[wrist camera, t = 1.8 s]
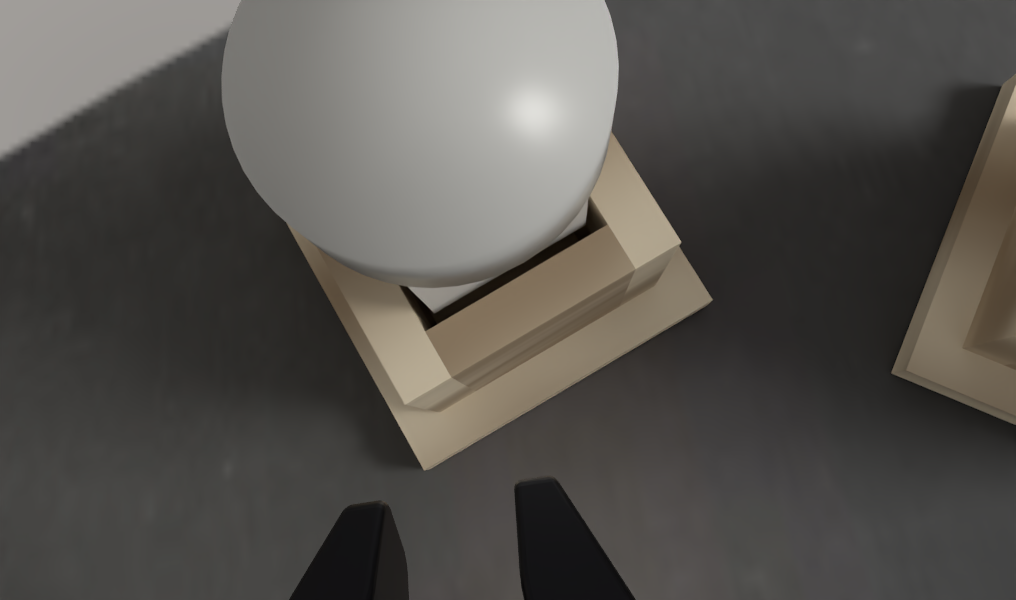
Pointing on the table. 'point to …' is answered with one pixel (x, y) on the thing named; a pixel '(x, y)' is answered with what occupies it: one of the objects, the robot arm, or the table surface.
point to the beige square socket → (519, 319)
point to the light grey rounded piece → (423, 128)
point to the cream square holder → (974, 284)
